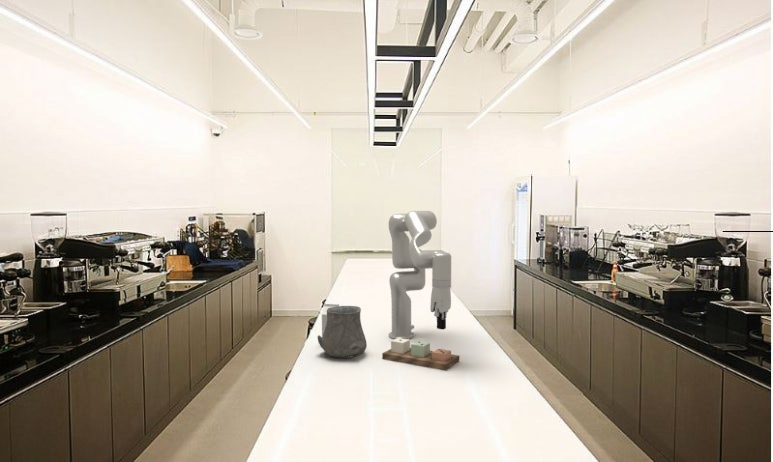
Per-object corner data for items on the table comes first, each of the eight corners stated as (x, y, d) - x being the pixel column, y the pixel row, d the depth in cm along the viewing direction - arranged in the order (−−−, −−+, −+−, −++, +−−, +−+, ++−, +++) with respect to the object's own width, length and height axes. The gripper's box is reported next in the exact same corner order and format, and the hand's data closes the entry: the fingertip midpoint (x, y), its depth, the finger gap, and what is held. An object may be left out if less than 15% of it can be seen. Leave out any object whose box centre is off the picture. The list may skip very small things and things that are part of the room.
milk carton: (337, 347, 227) (336, 306, 225) (322, 347, 228) (321, 305, 227) (341, 343, 234) (341, 302, 232) (327, 342, 235) (326, 302, 234)
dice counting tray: (382, 359, 210) (382, 353, 210) (398, 351, 221) (398, 345, 221) (446, 370, 195) (446, 364, 195) (459, 361, 206) (459, 355, 206)
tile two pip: (411, 355, 207) (411, 343, 207) (417, 351, 212) (417, 340, 212) (423, 357, 204) (423, 345, 204) (430, 353, 209) (430, 342, 209)
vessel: (330, 366, 201) (330, 317, 200) (312, 352, 221) (311, 306, 219) (379, 358, 211) (379, 311, 210) (357, 345, 231) (357, 301, 229)
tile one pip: (391, 351, 212) (391, 340, 212) (398, 348, 217) (398, 337, 217) (403, 354, 209) (403, 342, 209) (409, 350, 214) (409, 339, 214)
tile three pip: (431, 363, 202) (431, 351, 202) (438, 359, 207) (438, 348, 207) (445, 365, 199) (445, 353, 199) (451, 361, 204) (451, 350, 204)
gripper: (441, 279, 210) (440, 323, 211) (424, 285, 197) (424, 331, 198) (457, 281, 206) (457, 325, 207) (442, 287, 193) (441, 334, 194)
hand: (441, 328), depth 203 cm, fingers closed
